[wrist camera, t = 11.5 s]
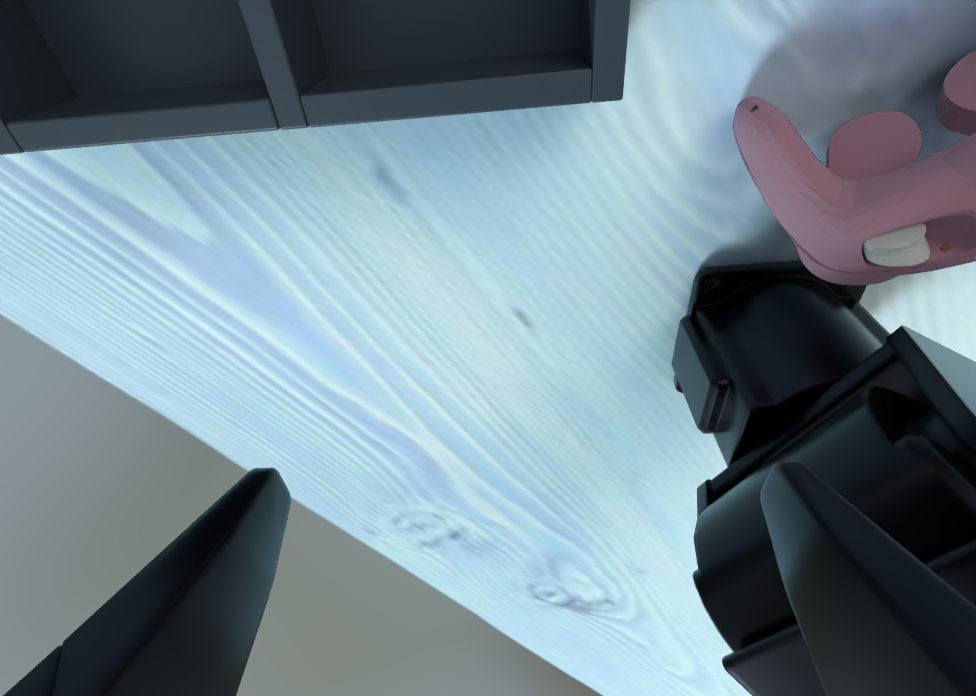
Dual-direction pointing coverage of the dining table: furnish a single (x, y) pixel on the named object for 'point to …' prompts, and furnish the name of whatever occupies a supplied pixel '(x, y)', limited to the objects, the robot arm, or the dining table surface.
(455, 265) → the dining table surface
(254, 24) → the grid
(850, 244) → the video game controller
